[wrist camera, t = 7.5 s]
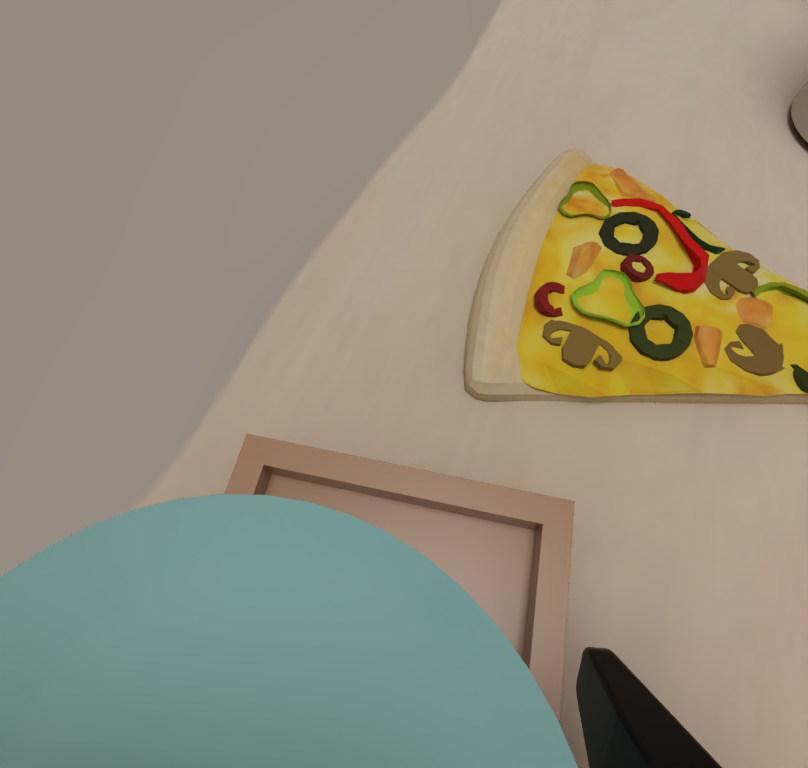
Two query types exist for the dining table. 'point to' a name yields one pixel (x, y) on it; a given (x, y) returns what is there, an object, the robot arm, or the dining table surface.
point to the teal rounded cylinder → (257, 649)
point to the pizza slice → (628, 303)
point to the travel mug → (801, 112)
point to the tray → (445, 535)
